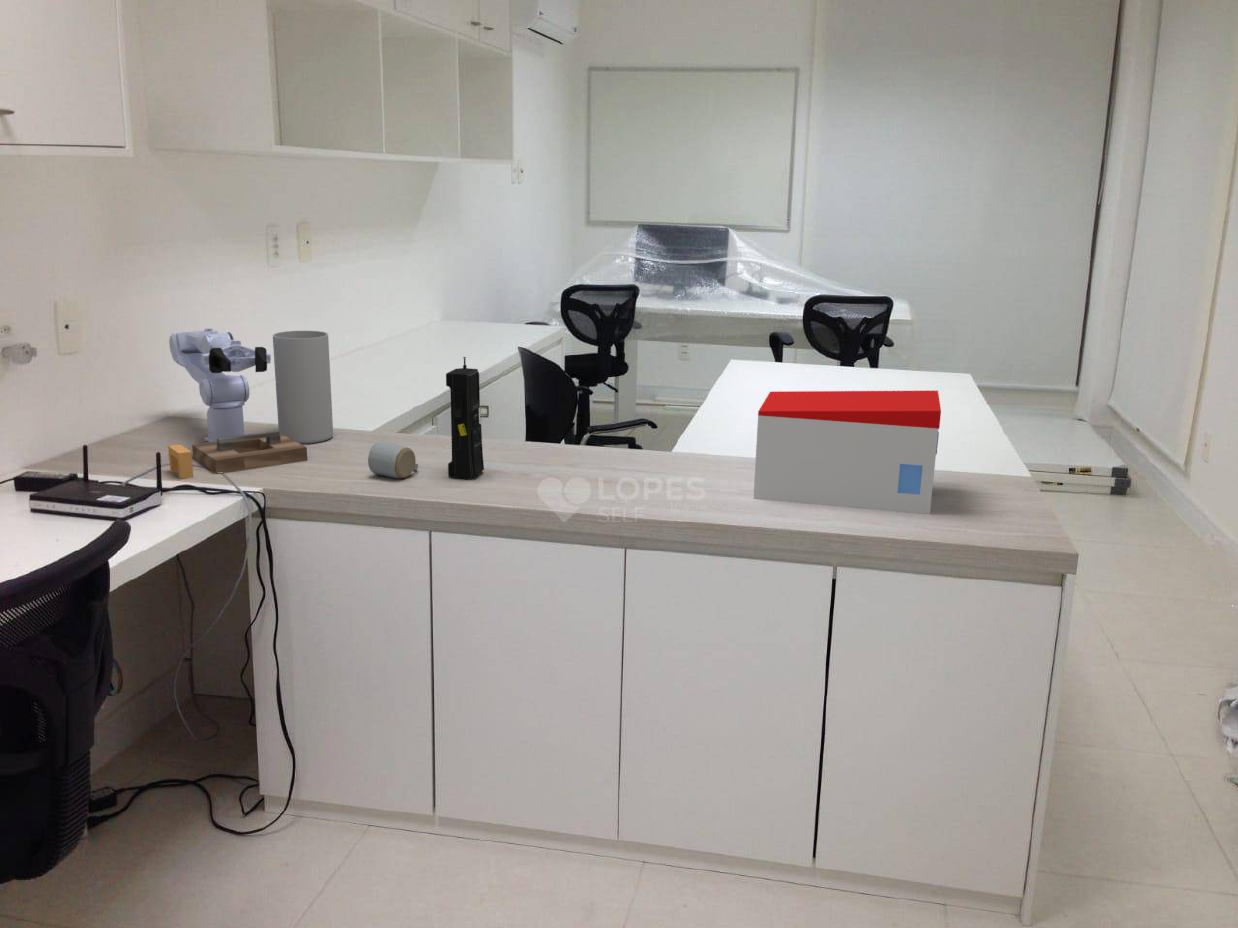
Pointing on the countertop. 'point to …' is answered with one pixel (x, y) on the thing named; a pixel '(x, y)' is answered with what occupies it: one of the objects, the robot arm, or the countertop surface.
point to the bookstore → (848, 448)
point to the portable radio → (465, 423)
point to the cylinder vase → (303, 385)
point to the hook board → (249, 452)
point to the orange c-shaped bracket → (180, 461)
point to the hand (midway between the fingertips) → (247, 366)
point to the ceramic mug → (391, 460)
